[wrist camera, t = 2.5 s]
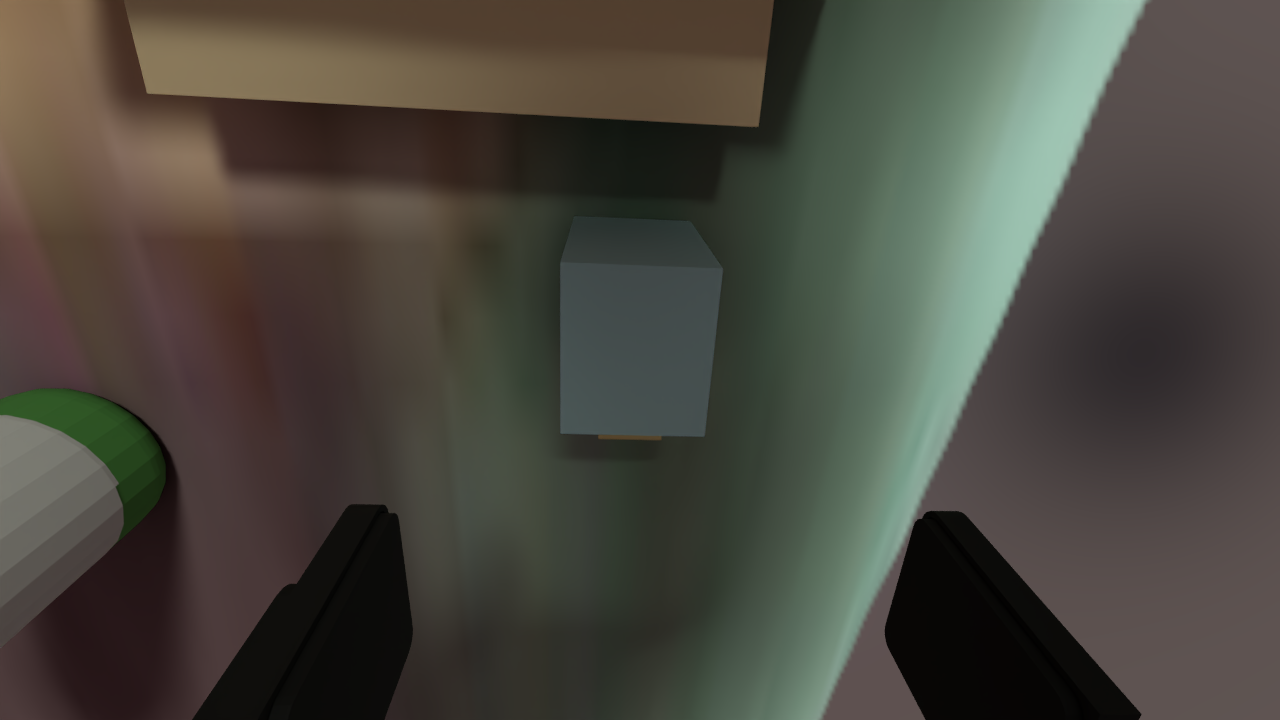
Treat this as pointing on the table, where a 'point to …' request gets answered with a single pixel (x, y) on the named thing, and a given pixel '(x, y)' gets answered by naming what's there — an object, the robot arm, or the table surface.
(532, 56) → the wall shelf
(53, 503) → the wine bottle
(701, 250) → the cabinet block
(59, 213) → the table surface
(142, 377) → the table surface
